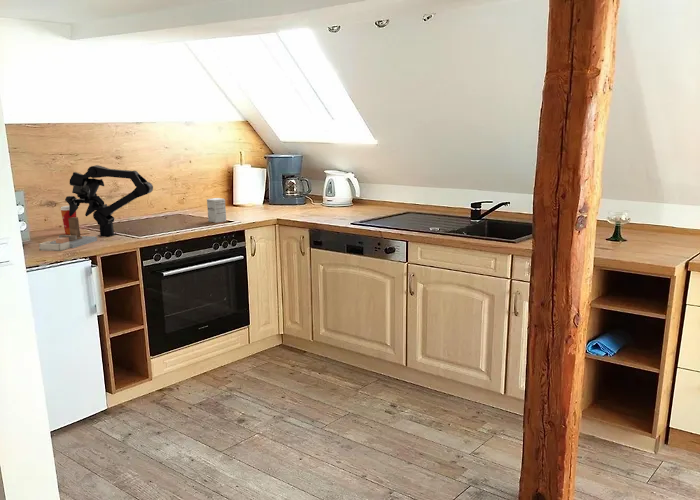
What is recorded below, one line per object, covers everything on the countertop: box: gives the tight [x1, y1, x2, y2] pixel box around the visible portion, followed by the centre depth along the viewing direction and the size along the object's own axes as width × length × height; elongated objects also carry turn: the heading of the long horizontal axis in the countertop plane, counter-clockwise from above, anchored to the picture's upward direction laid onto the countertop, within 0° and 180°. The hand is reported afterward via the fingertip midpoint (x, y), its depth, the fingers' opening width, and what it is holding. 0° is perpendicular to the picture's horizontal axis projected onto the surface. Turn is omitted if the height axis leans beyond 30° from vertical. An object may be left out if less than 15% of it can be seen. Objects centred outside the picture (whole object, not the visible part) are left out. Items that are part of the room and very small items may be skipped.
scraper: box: [58, 216, 83, 241], centre depth 290 cm, size 7×9×10 cm
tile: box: [55, 237, 69, 243], centre depth 284 cm, size 4×4×2 cm
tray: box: [38, 240, 71, 252], centre depth 279 cm, size 6×11×3 cm, turn 75°
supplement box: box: [206, 197, 227, 224], centre depth 341 cm, size 7×7×13 cm
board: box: [50, 235, 98, 249], centre depth 291 cm, size 17×14×2 cm
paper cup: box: [59, 205, 77, 235], centre depth 315 cm, size 8×8×14 cm
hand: (77, 215), depth 294 cm, fingers open, 9 cm apart
